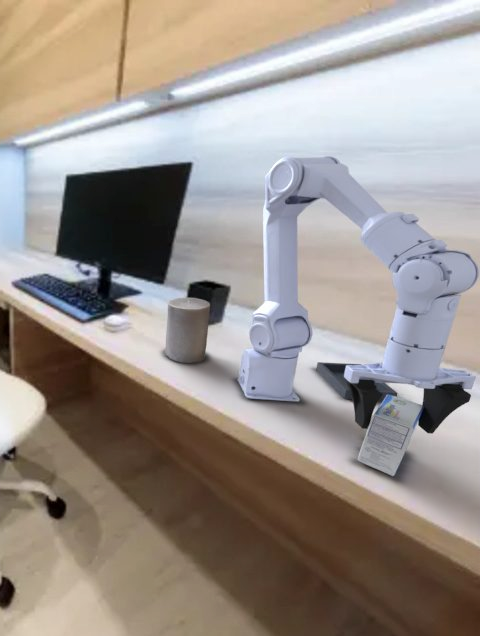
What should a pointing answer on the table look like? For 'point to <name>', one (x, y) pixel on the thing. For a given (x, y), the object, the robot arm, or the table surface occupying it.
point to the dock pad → (338, 382)
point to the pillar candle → (187, 329)
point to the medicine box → (389, 434)
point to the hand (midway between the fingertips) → (392, 427)
